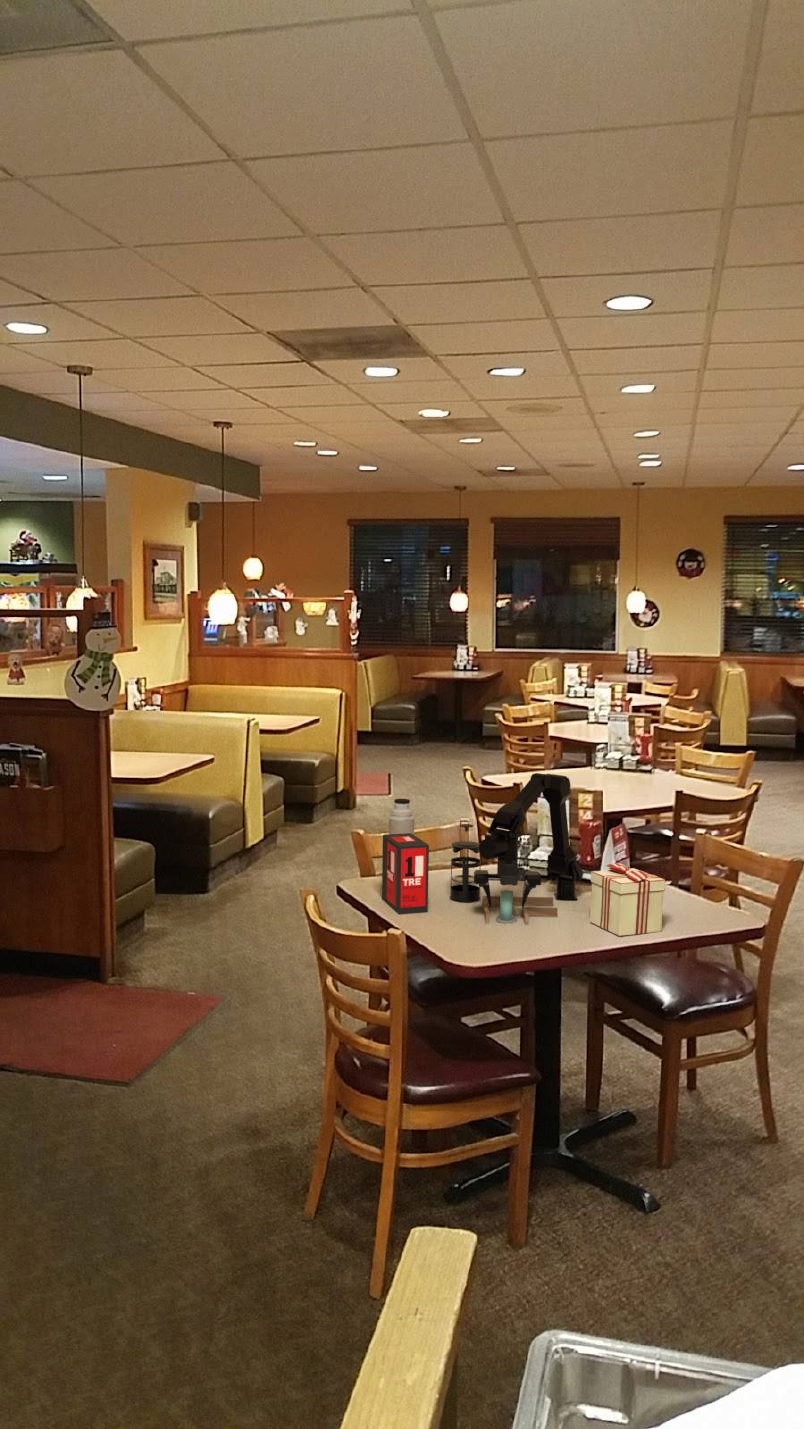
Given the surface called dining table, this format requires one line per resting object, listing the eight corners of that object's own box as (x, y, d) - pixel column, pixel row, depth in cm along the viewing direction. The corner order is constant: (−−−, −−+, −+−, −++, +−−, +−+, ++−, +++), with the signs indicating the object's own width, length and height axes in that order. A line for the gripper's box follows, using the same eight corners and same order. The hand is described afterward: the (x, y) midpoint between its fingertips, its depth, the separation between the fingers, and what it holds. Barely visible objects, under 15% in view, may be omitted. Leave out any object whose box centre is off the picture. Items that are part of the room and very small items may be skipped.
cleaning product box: (427, 912, 320) (428, 845, 318) (398, 914, 318) (399, 846, 316) (409, 897, 336) (410, 833, 334) (381, 899, 333) (382, 834, 331)
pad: (494, 916, 317) (495, 915, 317) (515, 917, 317) (515, 916, 317) (496, 922, 311) (496, 921, 311) (517, 923, 311) (517, 922, 311)
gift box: (673, 930, 307) (676, 869, 305) (622, 939, 298) (624, 876, 296) (633, 914, 322) (635, 856, 320) (582, 922, 313) (584, 863, 311)
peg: (499, 917, 316) (500, 889, 315) (511, 917, 315) (512, 890, 315) (500, 920, 312) (500, 893, 311) (512, 920, 312) (513, 893, 311)
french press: (480, 904, 330) (482, 828, 327) (449, 903, 330) (451, 827, 328) (480, 893, 342) (481, 820, 339) (449, 892, 342) (451, 819, 339)
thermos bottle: (382, 885, 349) (384, 798, 346) (402, 881, 354) (403, 796, 351) (398, 891, 343) (400, 802, 340) (418, 887, 348) (419, 799, 345)
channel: (482, 904, 330) (482, 895, 330) (552, 905, 329) (552, 897, 329) (485, 923, 310) (485, 915, 310) (560, 925, 309) (560, 916, 309)
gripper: (476, 859, 304) (474, 914, 306) (543, 860, 303) (542, 916, 305) (474, 850, 315) (473, 903, 317) (539, 851, 315) (538, 904, 316)
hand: (506, 907), depth 313 cm, fingers open, 9 cm apart
